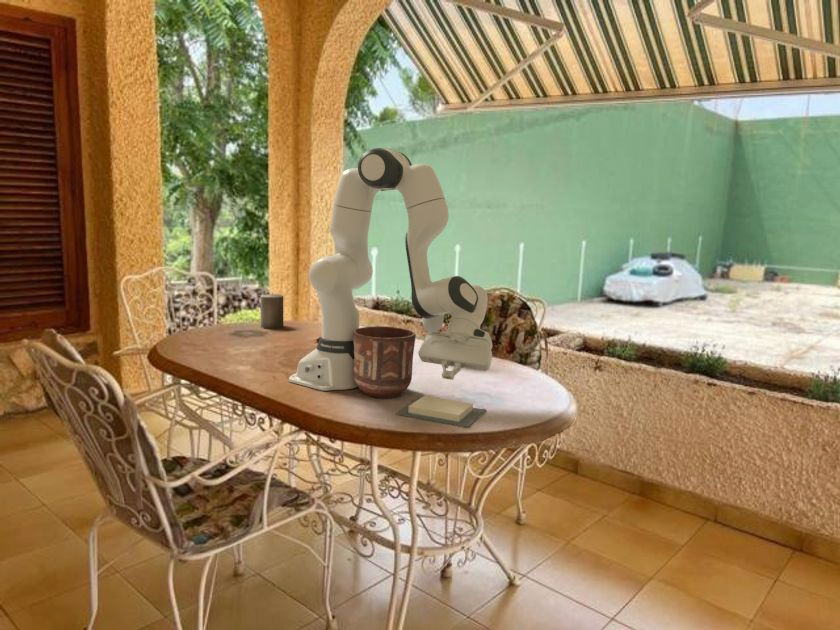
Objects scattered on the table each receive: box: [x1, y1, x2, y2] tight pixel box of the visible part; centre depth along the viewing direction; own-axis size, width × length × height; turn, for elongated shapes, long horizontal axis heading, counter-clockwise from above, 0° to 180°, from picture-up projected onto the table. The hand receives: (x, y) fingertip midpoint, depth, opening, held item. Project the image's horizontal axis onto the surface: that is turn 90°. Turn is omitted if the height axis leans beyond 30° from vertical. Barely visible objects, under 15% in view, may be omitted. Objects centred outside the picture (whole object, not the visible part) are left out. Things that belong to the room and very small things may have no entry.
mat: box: [395, 397, 487, 429], centre depth 166 cm, size 20×15×1 cm
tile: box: [408, 394, 474, 423], centre depth 165 cm, size 14×2×11 cm
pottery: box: [353, 325, 416, 399], centre depth 180 cm, size 18×18×18 cm
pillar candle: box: [260, 292, 285, 330], centre depth 268 cm, size 10×10×15 cm
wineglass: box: [421, 314, 445, 334], centre depth 222 cm, size 8×8×21 cm
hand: (447, 378), depth 167 cm, fingers closed
